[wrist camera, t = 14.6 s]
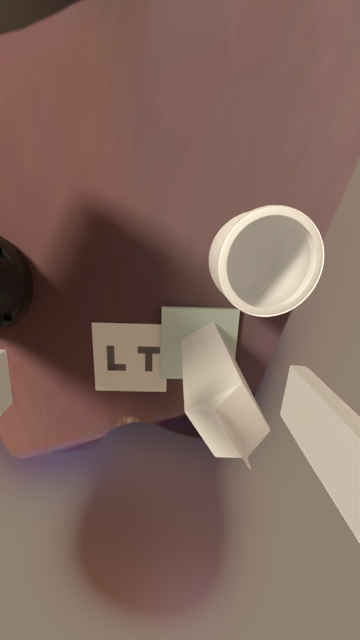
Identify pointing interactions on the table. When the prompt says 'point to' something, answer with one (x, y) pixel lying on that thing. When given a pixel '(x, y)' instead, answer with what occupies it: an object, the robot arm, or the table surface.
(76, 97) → the table surface
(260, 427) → the milk
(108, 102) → the table surface
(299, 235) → the jar
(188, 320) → the coaster
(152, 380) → the tile
